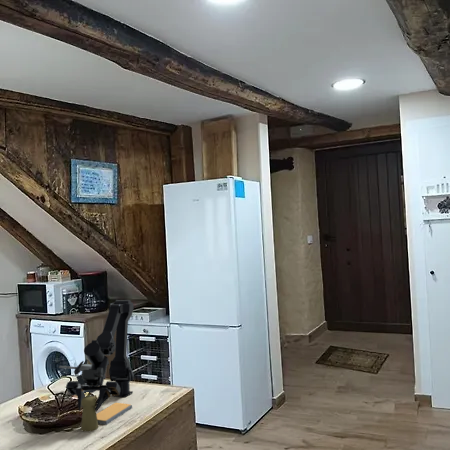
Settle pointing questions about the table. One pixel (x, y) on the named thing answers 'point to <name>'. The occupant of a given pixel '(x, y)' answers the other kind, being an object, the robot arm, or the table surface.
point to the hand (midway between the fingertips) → (87, 410)
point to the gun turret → (78, 369)
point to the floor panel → (112, 412)
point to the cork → (89, 414)
